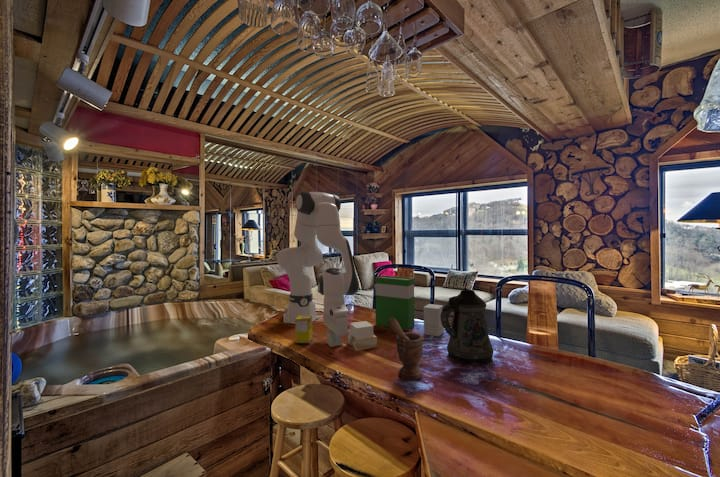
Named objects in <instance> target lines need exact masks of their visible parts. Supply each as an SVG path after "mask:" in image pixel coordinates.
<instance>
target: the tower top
mask: <svg viewBox="0 0 720 477" xmlns="http://www.w3.org/2000/svg"><path fill="white" fill-rule="evenodd" d="M349 333H350V334H351V335H352V336H353V337H354V338H356V339H361V338H368V337H373V335H374V325H373V324H372V323H370V322H369V321H367V320H364V321H356V322H354V321H353V322H349Z"/></svg>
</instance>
